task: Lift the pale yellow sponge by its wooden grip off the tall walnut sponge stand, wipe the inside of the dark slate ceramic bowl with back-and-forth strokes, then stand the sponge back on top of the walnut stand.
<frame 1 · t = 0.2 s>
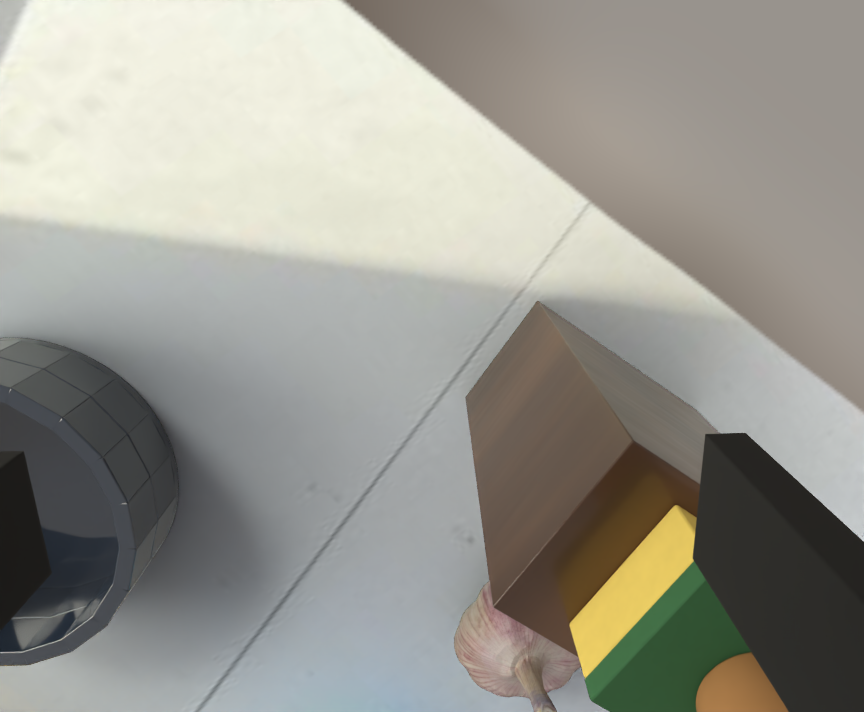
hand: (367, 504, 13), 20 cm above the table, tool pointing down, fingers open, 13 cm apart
sponge: (705, 618, 18), point 16 cm above the table, touching stand
stand: (581, 404, 34), on the table
bowl: (37, 472, 35), on the table
garlic bulb: (518, 605, 37), on the table
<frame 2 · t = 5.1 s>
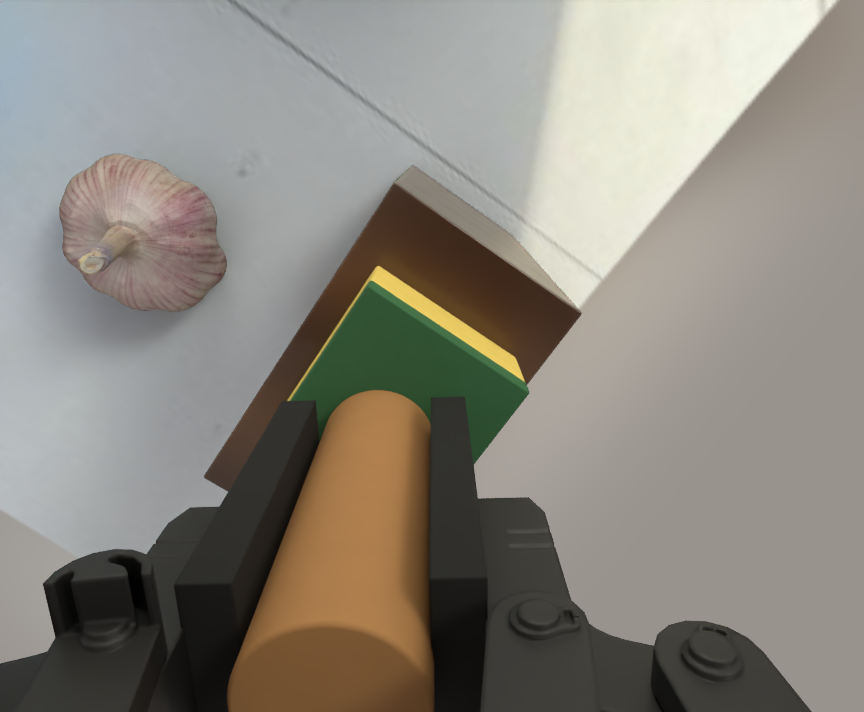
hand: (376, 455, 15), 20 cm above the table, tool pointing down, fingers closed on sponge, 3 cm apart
sponge: (386, 399, 19), point 16 cm above the table, touching gripper
stand: (406, 284, 34), on the table
garlic bulb: (162, 230, 33), on the table
when the fingers open (19 cm above the table, at t = 23.7 s): sponge stays where it is, resting on stand.
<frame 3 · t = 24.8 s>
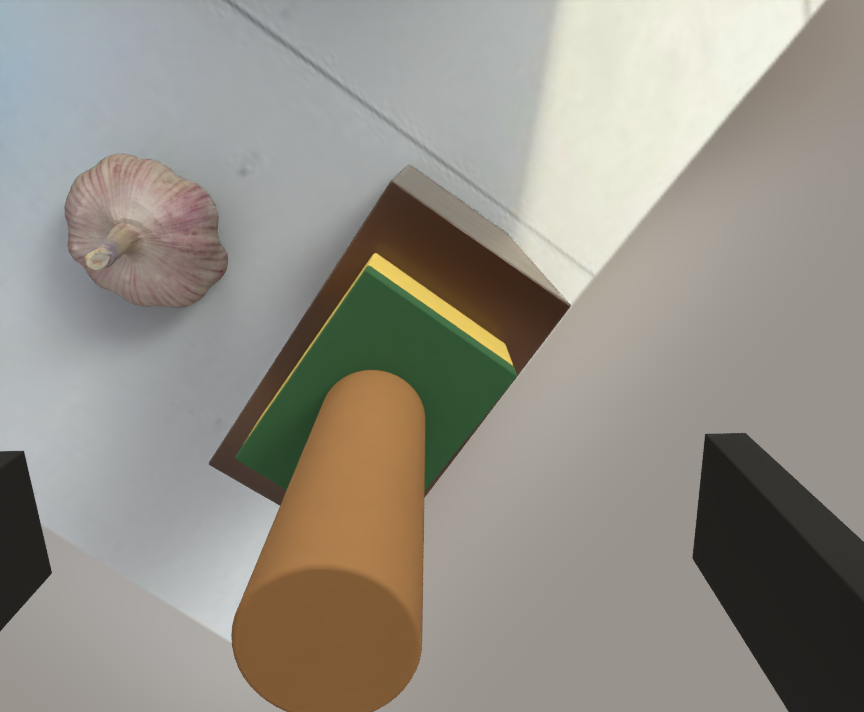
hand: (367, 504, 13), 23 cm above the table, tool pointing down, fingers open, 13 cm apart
sponge: (380, 381, 19), point 16 cm above the table, touching stand
stand: (403, 281, 35), on the table
garlic bulb: (164, 228, 34), on the table
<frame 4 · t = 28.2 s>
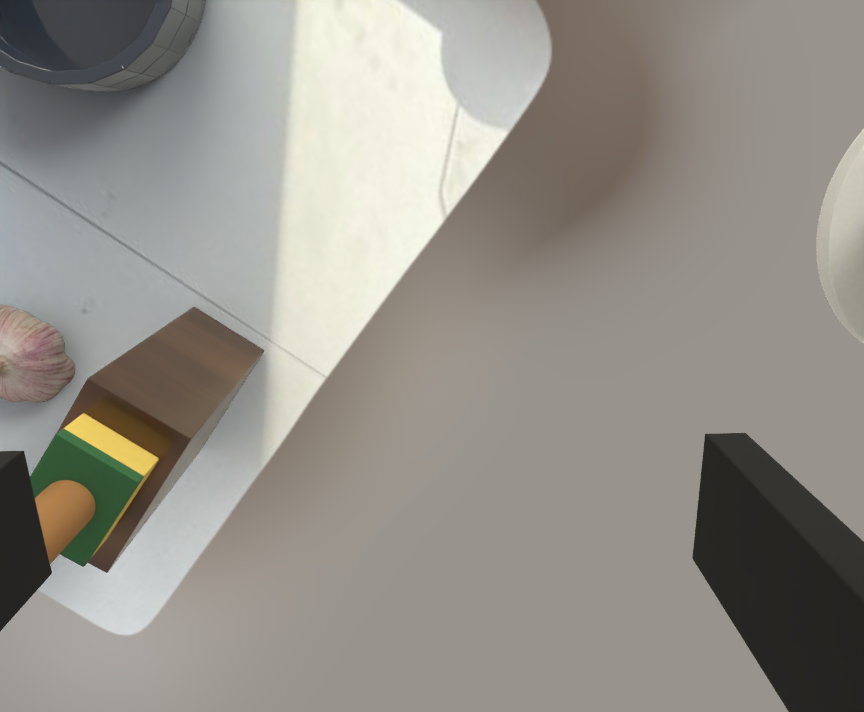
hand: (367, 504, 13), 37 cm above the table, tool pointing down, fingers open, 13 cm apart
sponge: (96, 477, 36), point 16 cm above the table, touching stand
stand: (197, 380, 51), on the table
garlic bulb: (34, 346, 51), on the table
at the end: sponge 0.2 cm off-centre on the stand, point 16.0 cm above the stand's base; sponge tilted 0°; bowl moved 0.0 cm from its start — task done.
